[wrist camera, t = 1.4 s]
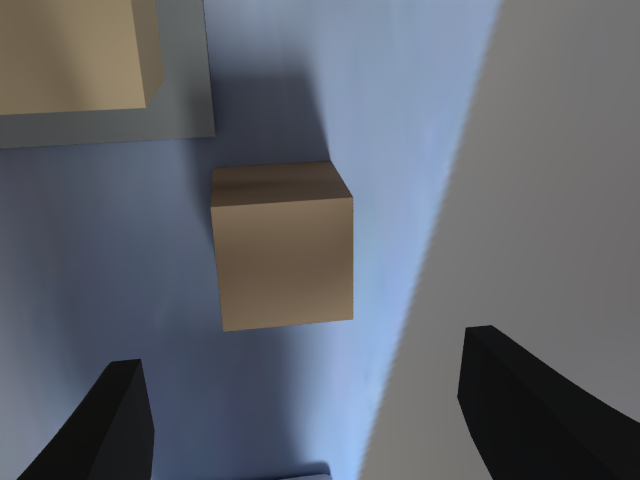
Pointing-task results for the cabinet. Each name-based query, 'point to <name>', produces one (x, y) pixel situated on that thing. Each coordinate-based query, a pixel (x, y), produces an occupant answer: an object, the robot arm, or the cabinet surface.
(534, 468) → the robot arm
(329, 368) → the cabinet surface
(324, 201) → the walnut block
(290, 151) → the cabinet surface
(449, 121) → the cabinet surface
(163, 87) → the tower base
